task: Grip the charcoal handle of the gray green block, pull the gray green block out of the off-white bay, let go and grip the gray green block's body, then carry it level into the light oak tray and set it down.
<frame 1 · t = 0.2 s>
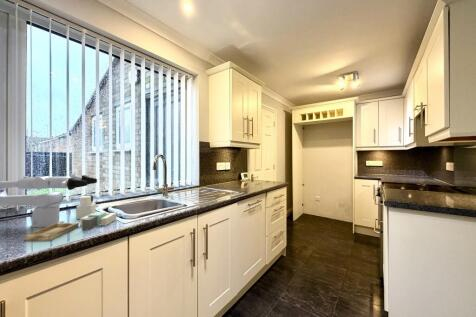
hand: (91, 182, 102), 21 cm above the counter, tool horizontal, fingers open, 7 cm apart
tray: (53, 233, 89), on the counter
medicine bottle: (86, 217, 114), on the counter
bay: (99, 222, 105), on the counter
gray green block: (97, 223, 104), on the counter
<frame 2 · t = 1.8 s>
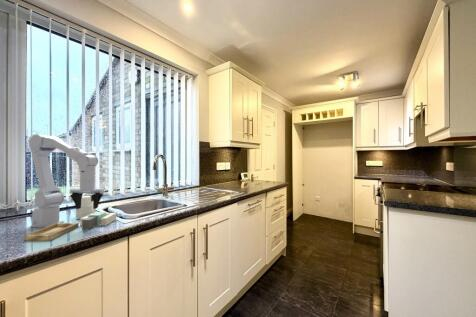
hand: (87, 208, 98), 9 cm above the counter, tool pointing down, fingers open, 7 cm apart
nothing on the counter moved.
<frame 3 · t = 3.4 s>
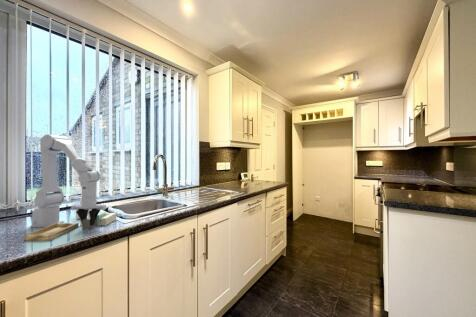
hand: (88, 224, 97), 2 cm above the counter, tool pointing down, fingers closed on gray green block, 3 cm apart
gray green block: (97, 223, 104), on the counter, touching gripper
everything else where it was.
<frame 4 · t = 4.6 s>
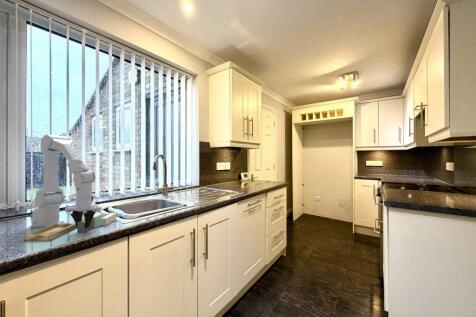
hand: (83, 227, 93), 2 cm above the counter, tool pointing down, fingers closed on gray green block, 3 cm apart
gray green block: (93, 225, 100), on the counter, touching gripper
everything else where it was.
when the fingers open (2 cm above the counter, at t = 5.7 s): gray green block stays where it is, on the counter.
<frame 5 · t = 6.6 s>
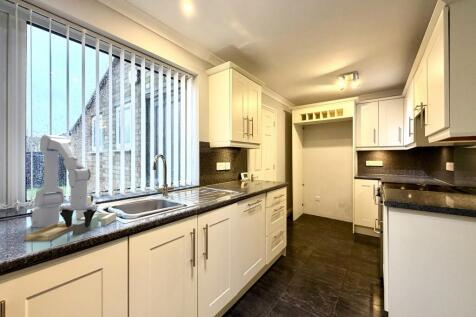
hand: (78, 226, 90), 3 cm above the counter, tool pointing down, fingers open, 7 cm apart
gray green block: (89, 227, 97), on the counter
everything else where it was.
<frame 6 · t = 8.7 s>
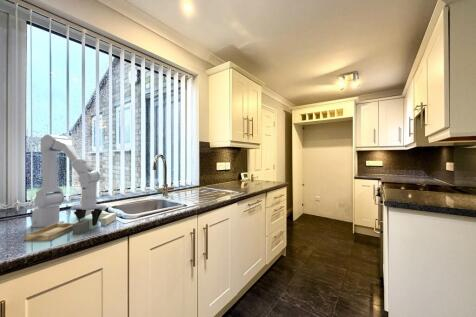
hand: (88, 225, 97), 1 cm above the counter, tool pointing down, fingers closed on gray green block, 5 cm apart
gray green block: (89, 227, 97), on the counter, touching gripper
everything else where it was.
when the fingers open (3 cm above the counter, at t = 12.3 s): gray green block stays where it is, resting on tray.
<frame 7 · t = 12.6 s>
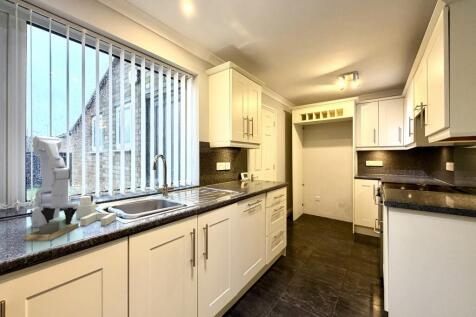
hand: (59, 224, 92), 3 cm above the counter, tool pointing down, fingers open, 7 cm apart
gray green block: (60, 229, 93), resting on tray
everything else where it was.
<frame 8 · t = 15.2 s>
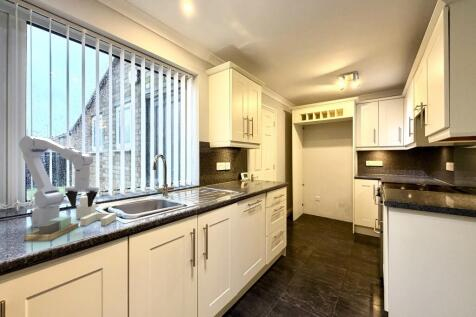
hand: (81, 206, 100), 9 cm above the counter, tool pointing down, fingers open, 7 cm apart
nothing on the counter moved.
at the end: gray green block 0.6 cm from the target spot on the tray, point 0.4 cm above the tray's base; gray green block tilted 0°; the gripper is holding nothing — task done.
